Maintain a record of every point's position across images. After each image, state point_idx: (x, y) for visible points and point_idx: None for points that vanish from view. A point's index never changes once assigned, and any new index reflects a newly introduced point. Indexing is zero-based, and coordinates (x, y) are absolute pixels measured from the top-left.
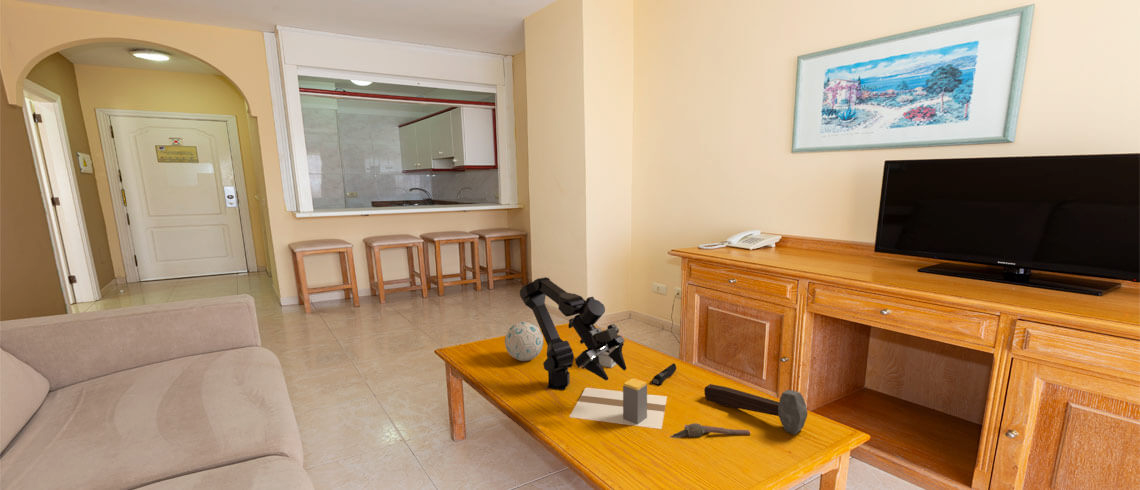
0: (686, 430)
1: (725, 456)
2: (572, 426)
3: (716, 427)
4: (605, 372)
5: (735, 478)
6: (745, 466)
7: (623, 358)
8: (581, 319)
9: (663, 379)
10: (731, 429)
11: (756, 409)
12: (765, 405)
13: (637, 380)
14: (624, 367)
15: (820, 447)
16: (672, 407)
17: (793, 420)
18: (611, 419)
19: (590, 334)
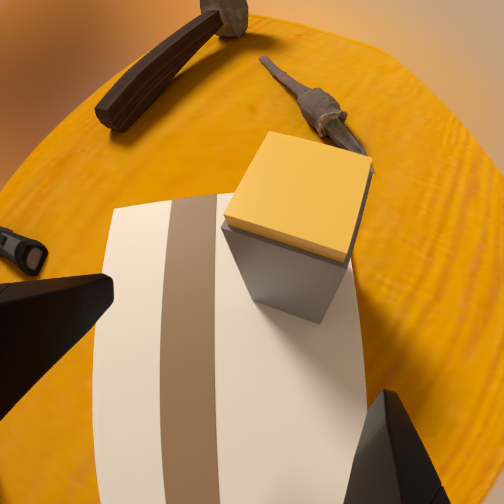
0: (338, 119)
1: (365, 83)
2: None
3: (289, 78)
4: (390, 435)
5: (416, 80)
6: (376, 67)
7: (18, 282)
8: None
9: (28, 238)
10: (274, 68)
11: (196, 46)
12: (204, 27)
13: (258, 176)
14: (100, 288)
15: (269, 21)
16: (169, 188)
17: (243, 12)
18: (341, 369)
19: None
